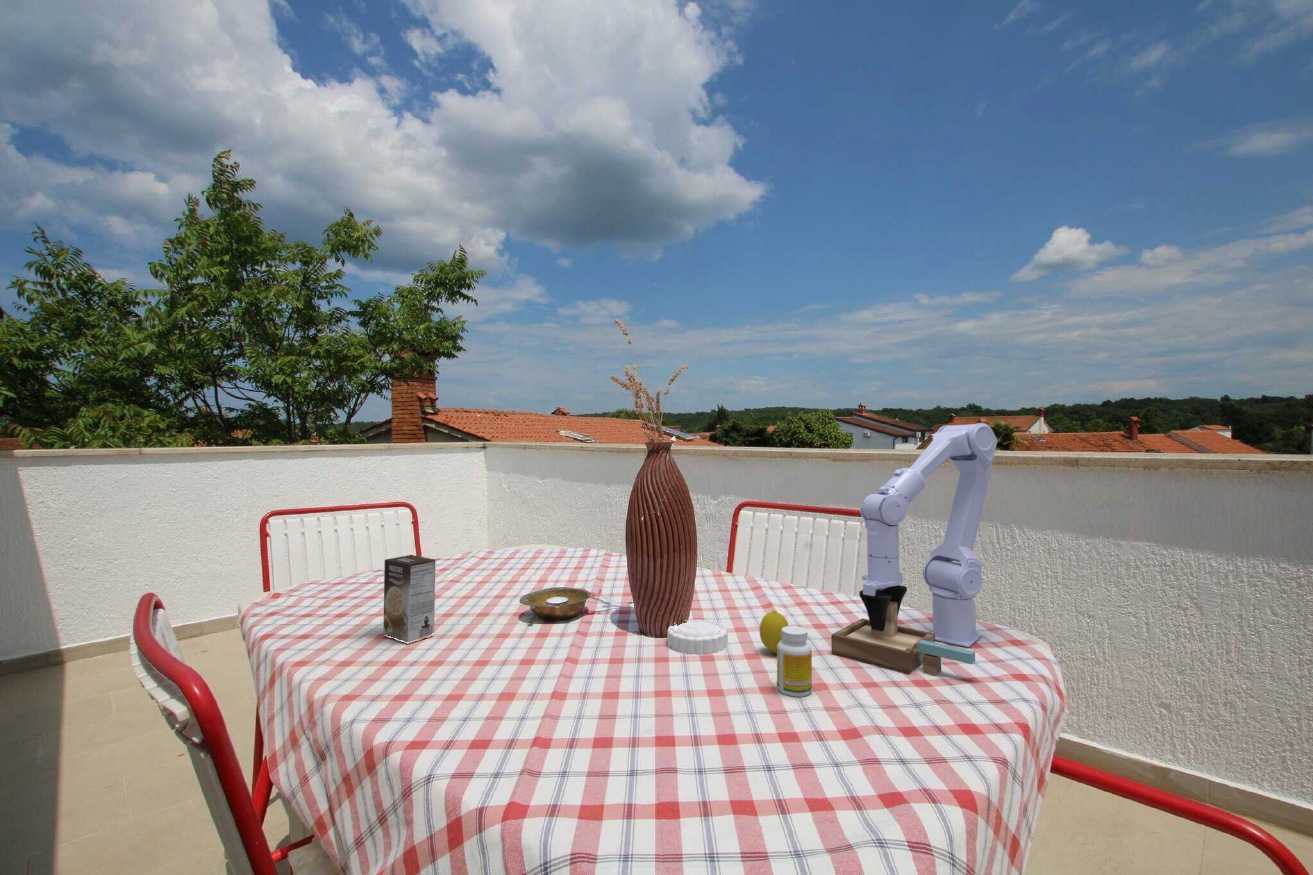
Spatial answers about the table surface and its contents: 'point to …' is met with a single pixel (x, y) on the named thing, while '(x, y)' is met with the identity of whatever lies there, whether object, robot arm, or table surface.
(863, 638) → the lid
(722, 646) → the mooncake
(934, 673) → the tray
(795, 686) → the supplement bottle
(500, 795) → the table surface
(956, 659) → the rectangular block
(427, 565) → the coffee box
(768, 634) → the lemon
